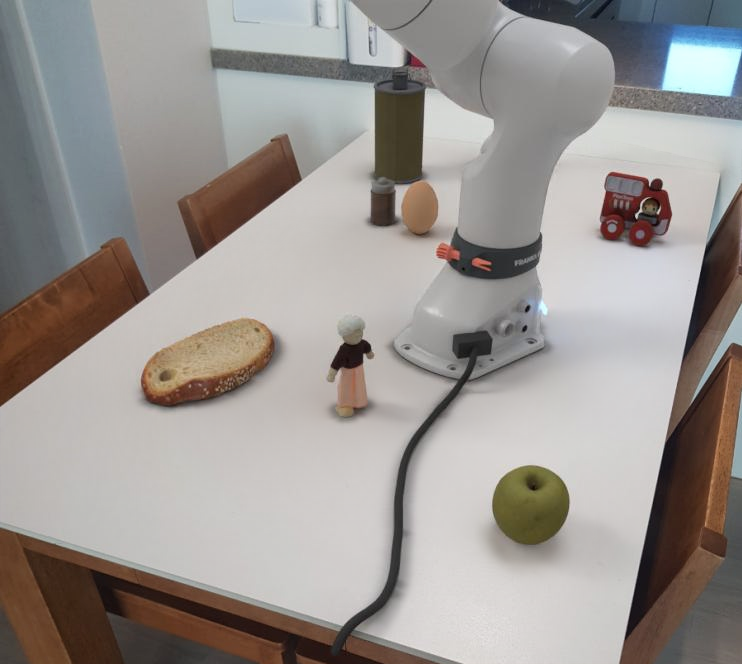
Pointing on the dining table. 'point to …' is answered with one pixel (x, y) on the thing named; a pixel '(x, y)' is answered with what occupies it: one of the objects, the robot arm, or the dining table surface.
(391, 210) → the pepper shaker
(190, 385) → the slice of bread
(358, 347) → the grandmother figurine
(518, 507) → the apple
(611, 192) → the toy fire truck
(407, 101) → the canister
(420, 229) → the egg
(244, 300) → the dining table surface
